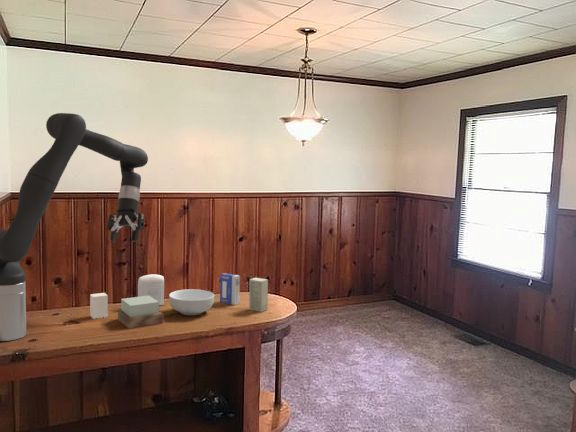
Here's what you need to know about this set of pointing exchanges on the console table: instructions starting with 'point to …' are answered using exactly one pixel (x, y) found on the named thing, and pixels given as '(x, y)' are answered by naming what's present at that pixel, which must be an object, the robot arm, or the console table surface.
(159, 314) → the tower base
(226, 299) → the walkman
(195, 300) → the cereal bowl
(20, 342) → the console table surface
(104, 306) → the cream block
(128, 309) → the tower top
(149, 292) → the photo printer
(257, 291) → the skincare box
